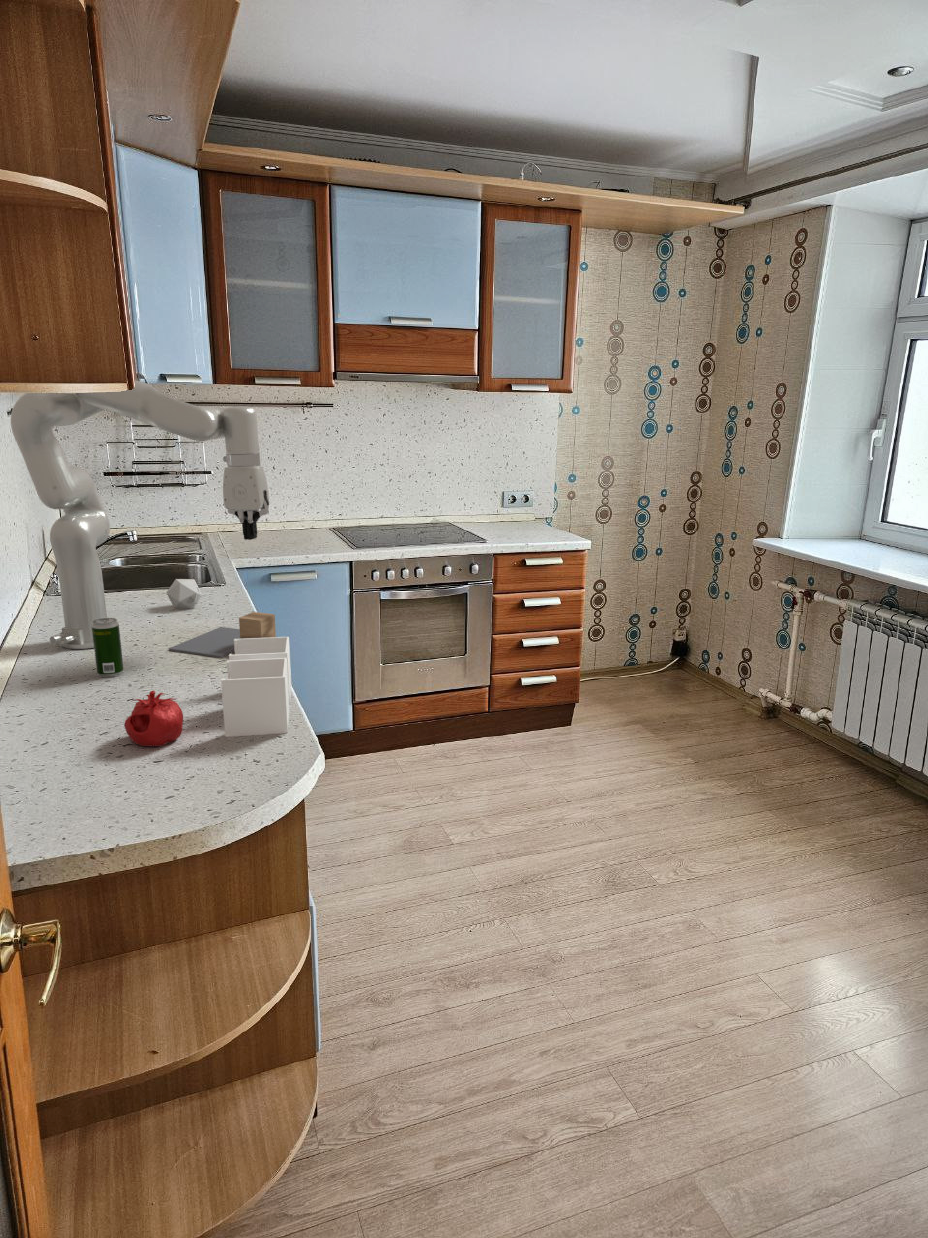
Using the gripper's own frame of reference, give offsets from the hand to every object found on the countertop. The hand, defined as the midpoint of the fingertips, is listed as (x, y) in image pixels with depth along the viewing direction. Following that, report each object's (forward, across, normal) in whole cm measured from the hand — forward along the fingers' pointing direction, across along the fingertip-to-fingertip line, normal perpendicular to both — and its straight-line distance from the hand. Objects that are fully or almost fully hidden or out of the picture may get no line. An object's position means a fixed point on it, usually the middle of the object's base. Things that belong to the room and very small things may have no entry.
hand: (250, 538), depth 193 cm
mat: (+26, -8, -5) cm, 27 cm away
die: (+25, -37, +20) cm, 49 cm away
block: (+26, +3, -5) cm, 26 cm away
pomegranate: (+26, +15, -57) cm, 65 cm away
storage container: (+26, +25, -39) cm, 53 cm away
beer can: (+25, -17, -32) cm, 44 cm away
